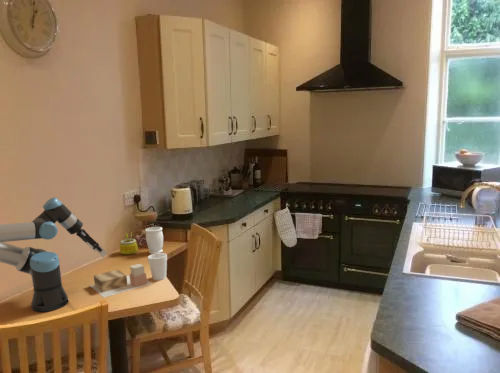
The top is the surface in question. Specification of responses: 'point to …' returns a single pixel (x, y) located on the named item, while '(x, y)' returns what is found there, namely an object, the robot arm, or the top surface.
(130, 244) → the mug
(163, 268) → the foam cup
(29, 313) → the top surface
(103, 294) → the white board
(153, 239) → the jar
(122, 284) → the oak plinth
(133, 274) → the terracotta tower
